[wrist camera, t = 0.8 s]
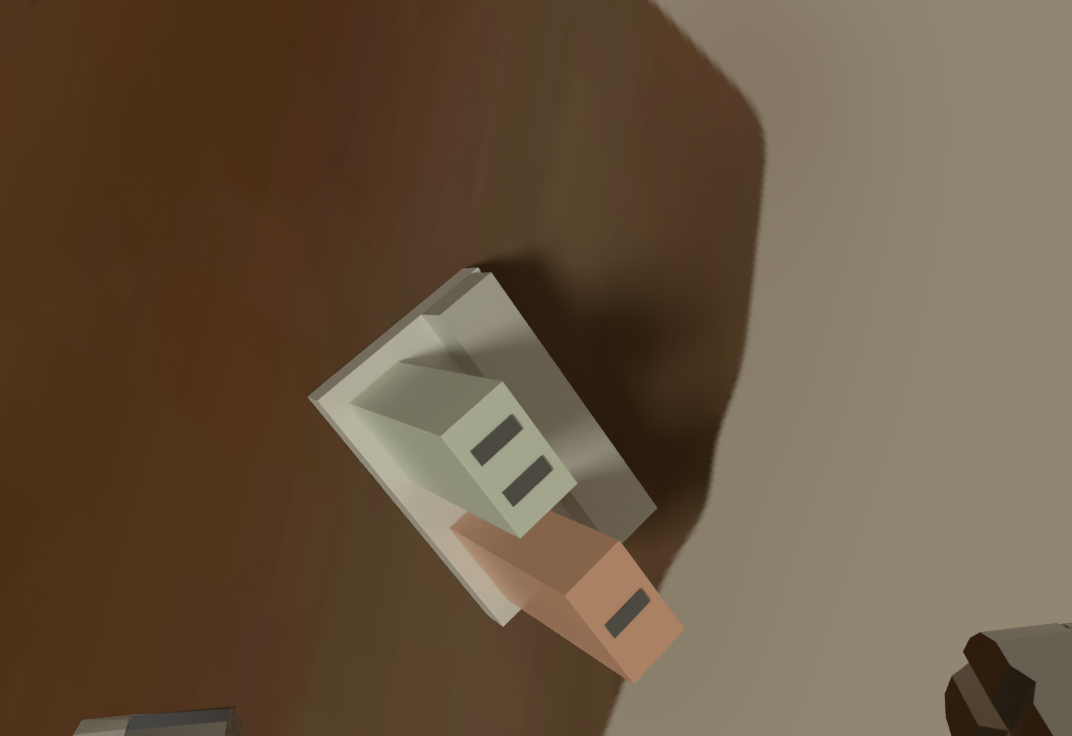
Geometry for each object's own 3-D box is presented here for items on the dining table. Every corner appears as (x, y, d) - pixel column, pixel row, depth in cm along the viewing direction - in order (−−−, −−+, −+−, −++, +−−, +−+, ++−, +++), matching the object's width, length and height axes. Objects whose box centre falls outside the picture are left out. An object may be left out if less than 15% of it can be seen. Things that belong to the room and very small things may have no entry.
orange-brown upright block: (449, 528, 47) (565, 596, 36) (497, 483, 48) (624, 537, 37) (507, 599, 49) (635, 685, 38) (552, 555, 50) (689, 626, 39)
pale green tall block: (348, 403, 45) (441, 436, 34) (400, 359, 46) (507, 377, 35) (412, 483, 46) (521, 539, 35) (462, 438, 47) (582, 480, 36)
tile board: (307, 396, 46) (331, 406, 42) (462, 268, 49) (498, 265, 45) (487, 615, 51) (524, 642, 47) (618, 486, 54) (663, 501, 50)
